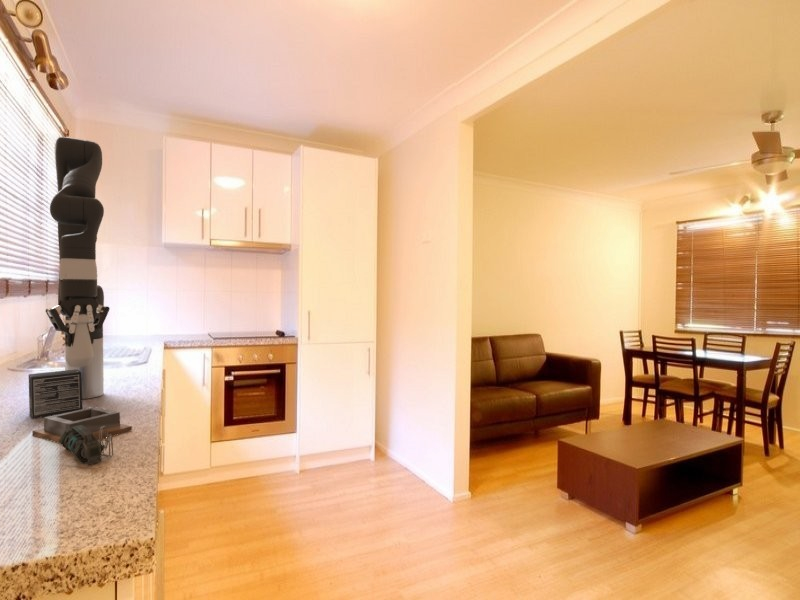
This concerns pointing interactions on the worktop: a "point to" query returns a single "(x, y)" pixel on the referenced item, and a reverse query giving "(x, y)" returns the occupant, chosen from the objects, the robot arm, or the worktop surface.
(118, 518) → the worktop surface
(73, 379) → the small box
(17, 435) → the worktop surface
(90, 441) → the stun grenade
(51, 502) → the worktop surface
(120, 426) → the socket board
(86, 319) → the salt shaker
